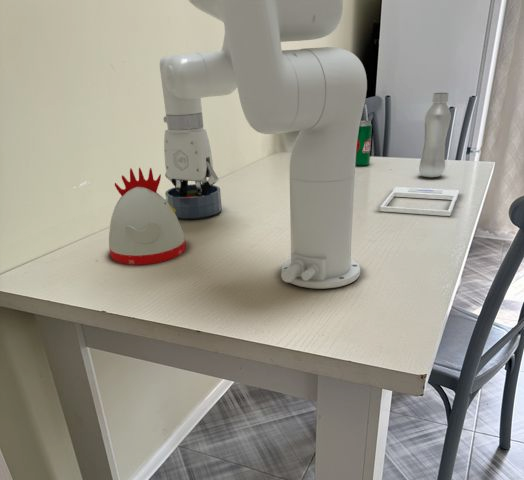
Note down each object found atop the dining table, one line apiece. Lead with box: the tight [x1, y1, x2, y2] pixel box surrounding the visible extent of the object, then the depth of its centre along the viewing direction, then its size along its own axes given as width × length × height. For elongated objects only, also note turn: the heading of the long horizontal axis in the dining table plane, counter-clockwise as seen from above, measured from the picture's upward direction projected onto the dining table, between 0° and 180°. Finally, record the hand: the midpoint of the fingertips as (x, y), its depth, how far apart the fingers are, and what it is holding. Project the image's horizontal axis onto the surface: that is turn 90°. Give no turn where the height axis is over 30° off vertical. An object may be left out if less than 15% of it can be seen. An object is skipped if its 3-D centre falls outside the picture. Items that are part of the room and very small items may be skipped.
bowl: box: [164, 183, 223, 220], centre depth 115 cm, size 12×12×5 cm
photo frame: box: [379, 186, 460, 217], centre depth 115 cm, size 15×1×18 cm
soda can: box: [355, 119, 373, 167], centre depth 150 cm, size 5×5×12 cm
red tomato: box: [186, 190, 198, 197], centre depth 115 cm, size 4×4×4 cm
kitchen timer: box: [108, 166, 187, 266], centre depth 92 cm, size 14×14×15 cm
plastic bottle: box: [418, 92, 452, 179], centre depth 131 cm, size 6×7×20 cm
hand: (194, 208), depth 116 cm, fingers closed on red tomato, 3 cm apart
